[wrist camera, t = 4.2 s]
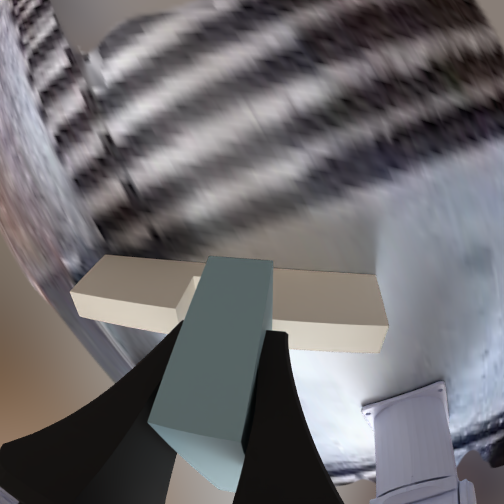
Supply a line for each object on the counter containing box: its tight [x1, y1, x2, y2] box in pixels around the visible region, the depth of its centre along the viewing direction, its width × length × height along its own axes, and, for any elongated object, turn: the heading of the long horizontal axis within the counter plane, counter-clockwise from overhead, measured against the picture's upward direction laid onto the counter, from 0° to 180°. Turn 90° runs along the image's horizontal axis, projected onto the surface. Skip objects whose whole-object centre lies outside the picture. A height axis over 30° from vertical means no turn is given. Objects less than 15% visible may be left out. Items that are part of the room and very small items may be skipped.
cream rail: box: [70, 255, 389, 353], centre depth 18 cm, size 18×2×4 cm, turn 92°
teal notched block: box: [148, 256, 273, 492], centre depth 11 cm, size 12×2×6 cm, turn 1°
